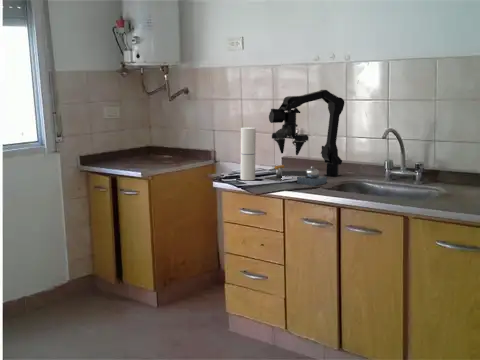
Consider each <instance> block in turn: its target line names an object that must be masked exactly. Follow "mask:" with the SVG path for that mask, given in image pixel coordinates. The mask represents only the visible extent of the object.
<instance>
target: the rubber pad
mask: <svg viewBox="0 0 480 360" xmlns="http://www.w3.org/2000/svg"><path fill="white" fill-rule="evenodd" d="M264 179H266V180H273V181H277V180H280V182H282V181H281V180H282V179H281V178H276V175H272V176H267V177H264Z"/></svg>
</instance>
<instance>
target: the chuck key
mask: <svg viewBox="0 0 480 360" xmlns="http://www.w3.org/2000/svg"><path fill="white" fill-rule="evenodd" d="M284 169H285V164H280V165H275V166H274V170H276V172H275V176H276V178H282V176H281V170H284Z"/></svg>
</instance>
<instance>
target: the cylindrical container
mask: <svg viewBox="0 0 480 360" xmlns="http://www.w3.org/2000/svg"><path fill="white" fill-rule="evenodd" d="M256 129H257V128H256V127H251V126H250V127H248V126H247V127H240V180H241V181H254V180H256V148H257V145H256V142H257V141H256V139H257V138H256V135H257V134H256V133H257V132H256V131H257V130H256Z"/></svg>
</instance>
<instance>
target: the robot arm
mask: <svg viewBox="0 0 480 360" xmlns="http://www.w3.org/2000/svg"><path fill="white" fill-rule="evenodd" d="M317 100H323V102H325V103H326V104H327V111H328V113H329V120H328V126H327V127H328V128H327V137H326V143H325V145H321V152H320V155H321V158H322V159H323V160H324V163H326V173H324V174H323V176H324V177H335V178H336V177H339V176H342V174H341V173H340V172H339V171H340V170H339V168H340V165H342V163H343V160H342V158H340V156H339V149H338V145H337V140H338V130H339V123H340V115H342V112H343V111H344V107H345V100H344V99H343V98H342V97H340V96H337V95H335V94H334V93H332V92H331V91H329V90H328V89H320V90H318V91H314V92H310V93H307V94H302V95H292V96H291V95H288V96H285V97H284V99H283V100H282V103H281V105H279V108H270V111H269V115H268V120H269V123H271V124H276V123H277V124H279V123H283V122H284V123H283V124H282V127H281V128H279V129H278V130H276V131H275V132H272V134H271V139H273V141H275V142H276V144H277V145H278V149H279V151H280V154H284V152H285V143H286V139H293V140H294V143H295V155H296V156H298V155H299V153H300V152H301V149H302V147H303V146H304V144H305V143H307V142H308V141H309V136H308V134H305V133H304V134H301V133H300V134H298V132H296V131H297V127H298V124H297V114H301V111H300V110H299V109H298V108H299V107H301V106H302V105H303V104H307V103H310V102H314V101H317Z"/></svg>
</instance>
